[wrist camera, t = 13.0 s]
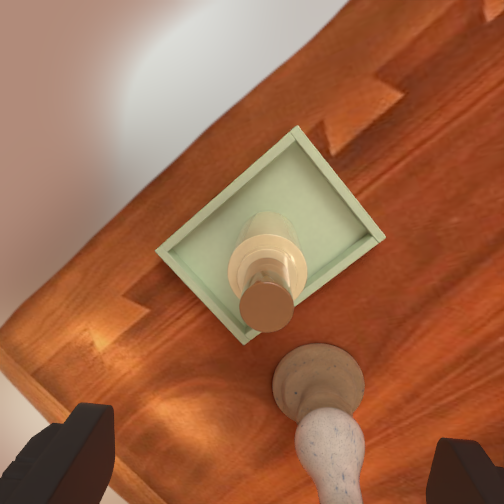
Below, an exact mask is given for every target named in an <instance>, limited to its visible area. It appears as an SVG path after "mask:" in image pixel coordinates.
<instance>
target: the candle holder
mask: <svg viewBox="0 0 504 504" xmlns="http://www.w3.org/2000/svg"><path fill="white" fill-rule="evenodd" d="M272 388H273V395H274V398H275V401H276V403H277V405H278V407H279V408H280V409H281V411H282V412H283V413H284V414H285V415H286V416H288V417H289V418H291V419H292V420H294V421H296V422H297V425H298V426H297V429H296V433H295V439H294V442H295V450H296V453H297V457H298V459H299V461H300V463H301V465H302V466H303V468H304V469H305V471H306V472H307V474H308V475H309V476H310V477H311V479H312V480H313V482H314V484H315V486H316V489H317V492H318V497H319V502H320V504H363V499H362V495H361V489H360V483H359V479H360V472H361V468H362V465H363V462H364V455H365V439H364V435H363V432H362V430H361V428H360V426H359V424H358V423H357V422H356V420H355V419H354V418H353V414H352V413H353V412H354V411H355V410H356V409H357V407H358V406H359V404H360V402H361V401H362V398H363V395H364V378H363V374H362V371H361V369H360V367H359V365H358V364H357V362H356V361H355V359H354V358H353V357H352V356H351V355H350V354H348V353H347V352H346V351H344V350H342V349H340V348H338V347H336V346H333V345H329V344H321V343H315V344H308V345H303V346H301V347H298V348H296V349H294V350H292V351H291V352H289V353H288V354H287V355H286V356H285V357H284V358H283V359H282V360H281V361H280V362H279V364H278V365H277V367H276V370H275V372H274V376H273V384H272Z"/></svg>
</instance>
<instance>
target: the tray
mask: <svg viewBox="0 0 504 504" xmlns="http://www.w3.org/2000/svg"><path fill="white" fill-rule="evenodd" d="M265 211H271V212H276V213H279V214H282V215H283V216H285V217H286V218H288V219H289V220H290V221H291V222H292V224H293V225H294V227H295V229H296V232H297V235H298V238H299V241H300V244H301V247H302V251H303V254H304V257H305V260H306V264H307V270H308V274H307V281H306V284H305V287H304V289H303V291H302V292H301V294H300V295H299V296H298V297H297V299H295V300H294V307H295V306H297V305H298V304H299V303H301V302H302V301H303V300H304V299H306V298H307V297H308V296H310V295H311V294H312V293H314V292H315V291H316V290H318V289H319V288H320V287H322V286H323V285H324V284H326V283H327V282H328V281H330V280H331V279H332V278H334V277H335V276H336V275H337V274H339V273H340V272H341V271H343V270H344V269H345V268H347V267H348V266H349V265H351V264H352V263H353V262H355V261H356V260H357V259H359V258H360V257H361V256H363V255H364V254H365V253H367V252H368V251H369V250H370V249H372V248H373V247H374V246H376V245H377V244H378V243H380V242H381V241H382V240H384V239H385V238H386V236H385V235H384V233H383V232H382V231H381V230H380V228H379V227H378V226H377V225H376V223H375V222H374V221H373V220H372V218H371V217H370V216H369V215H368V213H367V212H366V211H365V209H364V208H363V207H362V206H361V204H360V203H359V202H358V201H357V199H356V198H355V197H354V196H353V194H352V193H351V192H350V191H349V189H348V188H347V187H346V186H345V184H344V183H343V182H342V181H341V179H340V178H339V177H338V175H337V174H336V173H335V172H334V170H333V169H332V168H331V167H330V165H329V164H328V163H327V162H326V160H325V159H324V158H323V157H322V155H321V154H320V153H319V152H318V150H317V149H316V148H315V146H314V145H313V144H312V143H311V141H310V140H309V139H308V138H307V136H306V135H305V134H304V133H303V131H302V130H301V129H300V128H299V126H295V127H294V128H293V129H292V130H291V131H290V132H289V133H287V134H286V135H285V136H284V137H283V138H282V139H281V140H280V141H278V142H277V143H276V144H275V145H274V146H273V147H272V148H270V149H269V150H268V151H267V152H266V153H265V154H264V155H262V156H261V157H260V158H259V159H258V160H257V161H256V162H255V163H253V164H252V165H251V166H250V167H249V168H248V169H247V170H245V171H244V172H243V173H242V174H241V175H240V176H239V177H238V178H236V179H235V180H234V181H233V182H232V183H231V184H230V185H228V186H227V187H226V188H225V189H224V190H223V191H222V192H220V193H219V194H218V195H217V196H216V197H215V198H214V199H213V200H211V201H210V202H209V203H208V204H207V205H206V206H205V207H203V208H202V209H201V210H200V211H199V212H198V213H197V214H196V215H194V216H193V217H192V218H191V219H190V220H189V221H188V222H186V223H185V224H184V225H183V226H182V227H181V228H180V229H178V230H177V231H176V232H175V233H174V234H173V235H172V236H171V237H169V238H168V239H167V240H166V241H165V242H164V243H163V244H161V245H160V246H159V247H158V248H157V249H156V250H155V252H156V253H157V254H158V255H159V256H160V257H161V258H162V259H163V260H164V262H165V263H166V264H167V265H168V266H169V267H170V268H171V269H172V270H173V271H174V272H175V273H176V274H177V275H178V276H179V277H180V279H181V280H182V281H183V282H184V283H185V284H186V285H187V286H188V287H189V288H190V289H191V290H192V291H193V292H194V293H195V294H196V296H197V297H198V298H199V299H200V300H201V301H202V302H203V303H204V304H205V305H206V306H207V307H208V308H209V309H210V310H211V311H212V313H213V314H214V315H215V316H216V317H217V318H218V319H219V320H220V321H221V322H222V323H223V324H224V325H225V326H226V327H227V328H228V330H229V331H230V332H231V333H232V334H233V335H234V336H235V337H236V338H237V339H238V340H239V341H240V342H241V343H242V344H243V345H245V344H246V343H248V342H249V341H250V340H252V339H253V338H254V337H256V336H257V335H258V334H260V333H261V332H259V331H256V330H254V329H252V328H251V327H249V326H248V325H247V324H246V323H245V322H244V320H243V319H242V317H241V314H240V310H239V304H240V299H239V298H238V297H237V296H236V295H235V294H234V292H233V291H232V289H231V287H230V284H229V281H228V275H227V269H228V263H229V260H230V257H231V254H232V251H233V248H234V246H235V243H236V240H237V237H238V234H239V232H240V229H241V227H242V225H243V224H244V223H245V221H246V220H247V219H248V218H250V217H251V216H253V215H254V214H257V213H260V212H265Z"/></svg>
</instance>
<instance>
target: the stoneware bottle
mask: <svg viewBox="0 0 504 504" xmlns="http://www.w3.org/2000/svg"><path fill="white" fill-rule="evenodd" d="M307 274H308V270H307V264H306V260H305V257H304V254H303V251H302V247H301V244H300V241H299V238H298V235H297V232H296V229H295V227H294V225H293V224H292V222H291V221H290V220H289V219H288V218H286V217H285V216H283V215H282V214H279V213H276V212H271V211H265V212H260V213H257V214H254V215H253V216H251V217H250V218H248V219H247V220H246V221H245V223H244V224H243V225H242V227H241V229H240V232H239V234H238V237H237V240H236V243H235V246H234V248H233V251H232V254H231V257H230V260H229V263H228V269H227V275H228V281H229V284H230V287H231V289H232V291H233V292H234V294H235V295H236V296H237V297H238V298H239V299H240V304H239V310H240V314H241V317H242V319H243V320H244V322H245V323H246V324H247V325H248V326H249V327H251V328H252V329H254V330H256V331H259V332H266V333H268V332H275V331H278V330H280V329H282V328H283V327H285V326H286V325H287V324H288V323H289V321H290V320H291V318H292V316H293V313H294V300H295V299H297V297H298V296H299V295H300V294H301V292H302V291H303V289H304V287H305V284H306V281H307Z"/></svg>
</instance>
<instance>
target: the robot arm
mask: <svg viewBox="0 0 504 504" xmlns="http://www.w3.org/2000/svg"><path fill="white" fill-rule="evenodd" d="M114 462H115V435H114V410H113V407H112V406H111V405H103V404H93V403H79V404H78V405H77V406H76V407H75V409H74V410H73V411H72V413H71V414H70V415H69V417H68V418H67V419H66V421H65V422H64V424H60V423H52V424H51V425H49V426H48V427H46V428H45V429H43V430H42V431H41V432H39V433H38V434H36V435H35V436H34V437H32V438H31V439H30V440H29V442H28V443H27V444H26V445H25V447H24V448H23V449H22V450H21V451H20V453H19V454H18V455H17V456H16V459H15V461H12V463H11V464H10V465H9V466H8V468H7V469H6V470H5V471H4V472H3V474H2V477H1V478H0V504H99V503H100V501H101V499H102V496H103V495H104V492H105V490H106V488H107V486H108V484H109V481H110V479H111V476H112V472H113V468H114ZM426 502H427V504H504V468H503V467H496V466H495V465H494V464H493V463H492V461H491V460H490V458H489V457H488V455H487V454H486V453H485V451H484V450H483V448H482V447H481V446H480V444H479V443H478V442H476V441H473V440H463V439H452V438H441V439H440V440H439V441H438V443H437V447H436V451H435V455H434V459H433V463H432V467H431V471H430V475H429V479H428V483H427V487H426Z"/></svg>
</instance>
